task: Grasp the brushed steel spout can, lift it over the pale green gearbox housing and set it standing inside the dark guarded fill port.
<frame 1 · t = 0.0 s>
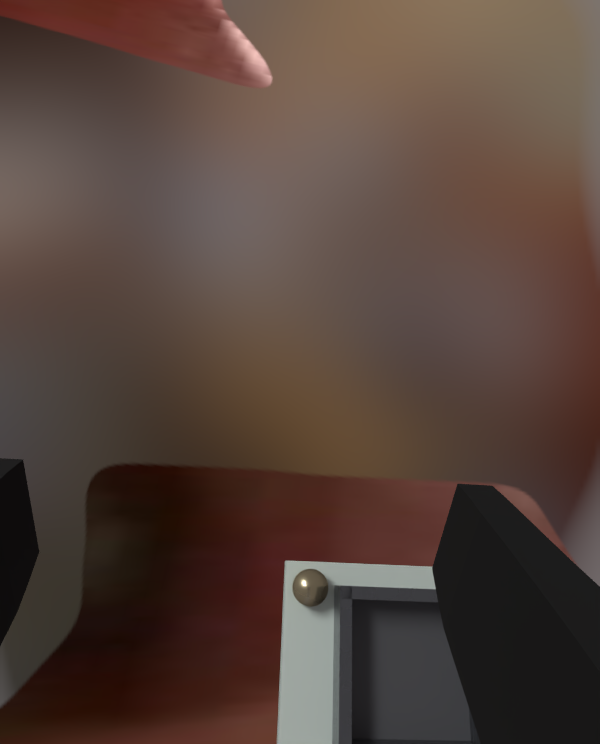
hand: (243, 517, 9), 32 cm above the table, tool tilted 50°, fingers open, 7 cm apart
gearbox housing: (380, 656, 38), on the table
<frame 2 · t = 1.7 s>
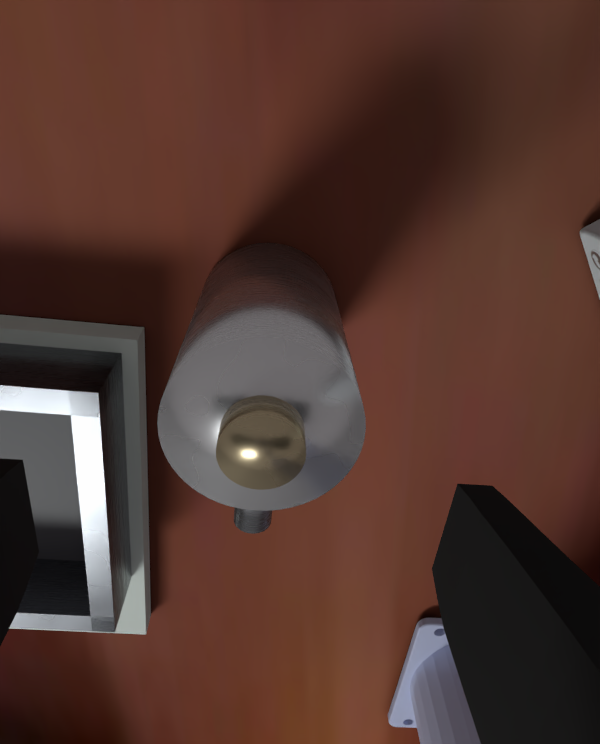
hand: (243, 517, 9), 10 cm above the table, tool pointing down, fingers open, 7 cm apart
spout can: (268, 309, 18), on the table
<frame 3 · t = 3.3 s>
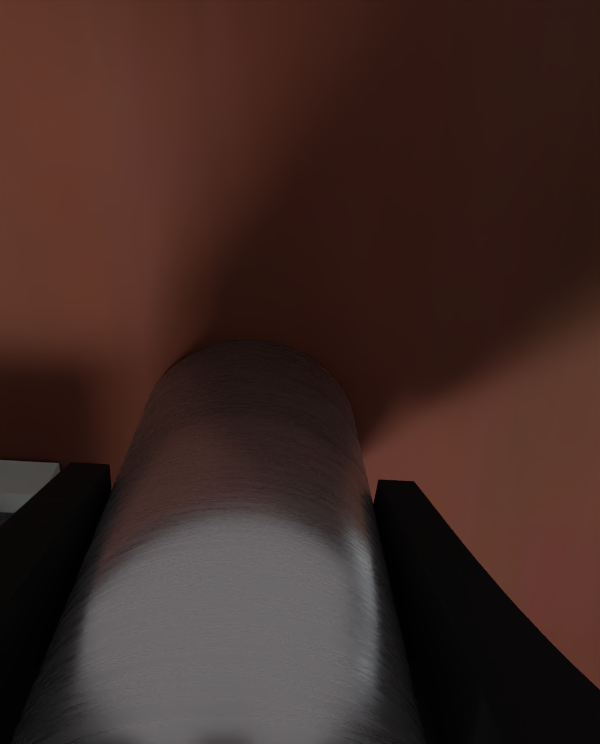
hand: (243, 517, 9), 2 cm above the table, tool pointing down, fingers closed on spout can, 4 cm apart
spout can: (250, 435, 11), on the table, touching gripper
when the fingers open (4 cm above the table, at t = 9.0 s): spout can stays where it is, resting on gearbox housing.
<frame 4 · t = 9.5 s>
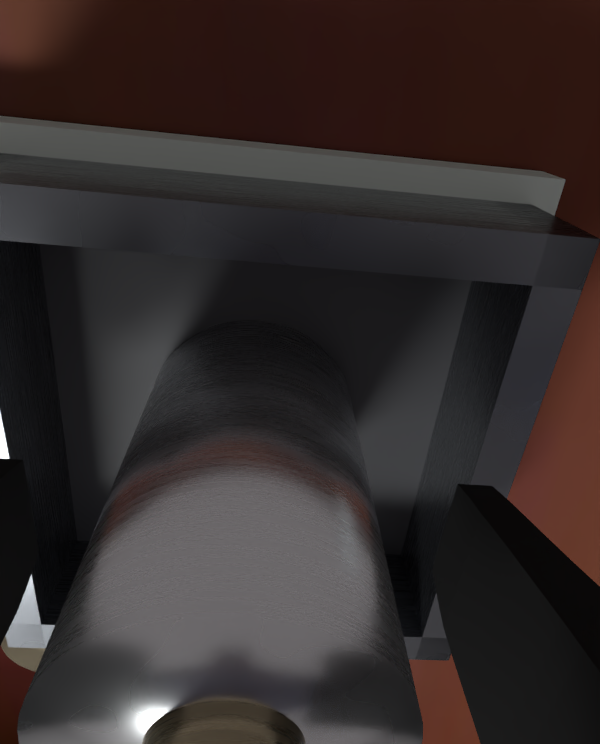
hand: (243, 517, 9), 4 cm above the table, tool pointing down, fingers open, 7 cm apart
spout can: (252, 411, 12), point 1 cm above the table, touching gearbox housing
gearbox housing: (230, 437, 14), on the table
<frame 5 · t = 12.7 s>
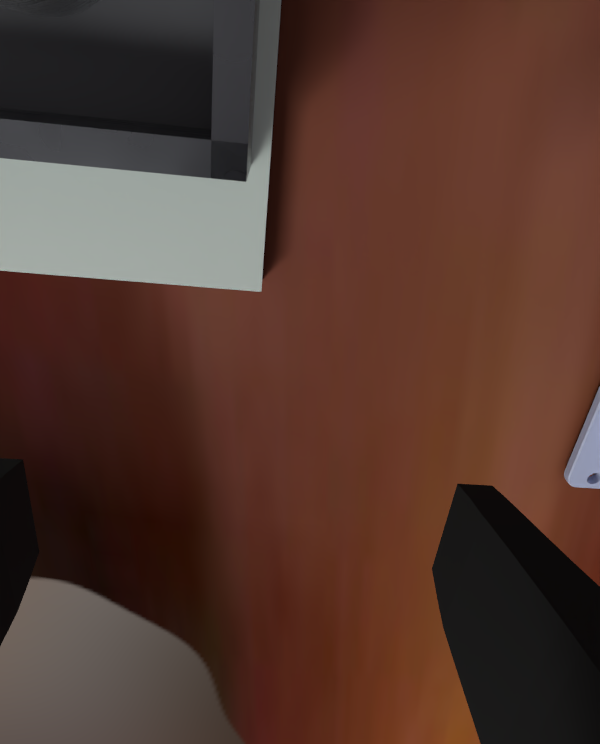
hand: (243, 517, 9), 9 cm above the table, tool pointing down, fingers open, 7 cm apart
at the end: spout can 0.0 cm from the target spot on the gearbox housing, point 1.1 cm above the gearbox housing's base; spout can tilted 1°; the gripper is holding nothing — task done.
